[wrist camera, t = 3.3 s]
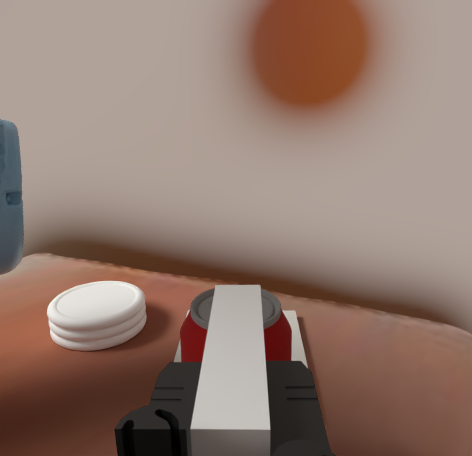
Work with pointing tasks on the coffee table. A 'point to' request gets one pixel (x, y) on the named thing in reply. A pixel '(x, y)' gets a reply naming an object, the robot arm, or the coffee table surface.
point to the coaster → (97, 315)
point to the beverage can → (273, 327)
